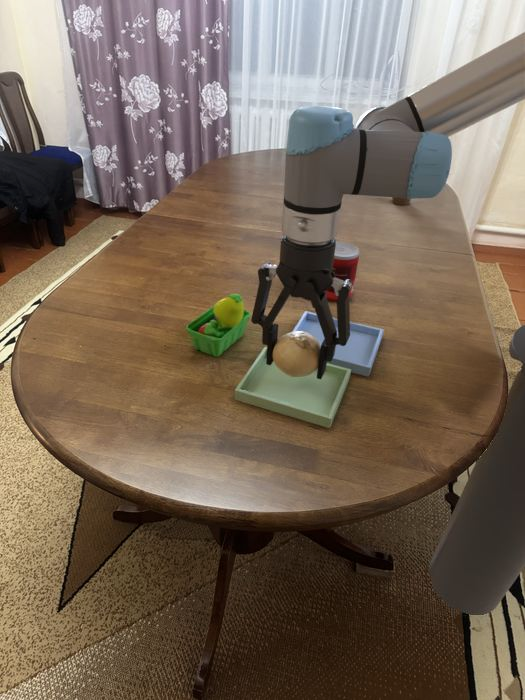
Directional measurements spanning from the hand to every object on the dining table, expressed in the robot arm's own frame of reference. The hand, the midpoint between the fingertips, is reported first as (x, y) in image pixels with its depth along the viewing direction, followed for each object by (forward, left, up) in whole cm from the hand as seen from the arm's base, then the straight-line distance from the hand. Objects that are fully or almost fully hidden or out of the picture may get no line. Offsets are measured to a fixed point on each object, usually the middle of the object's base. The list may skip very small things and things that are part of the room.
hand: (295, 366), depth 76 cm
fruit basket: (+17, -7, -5) cm, 19 cm away
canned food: (+2, -35, -5) cm, 35 cm away
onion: (0, 0, 0) cm, 0 cm away
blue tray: (-3, -15, -5) cm, 16 cm away
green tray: (0, 0, -5) cm, 5 cm away
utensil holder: (-2, -106, -5) cm, 106 cm away
